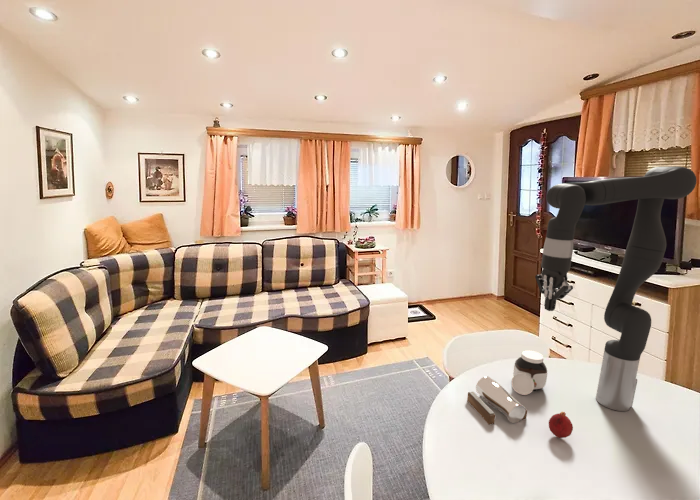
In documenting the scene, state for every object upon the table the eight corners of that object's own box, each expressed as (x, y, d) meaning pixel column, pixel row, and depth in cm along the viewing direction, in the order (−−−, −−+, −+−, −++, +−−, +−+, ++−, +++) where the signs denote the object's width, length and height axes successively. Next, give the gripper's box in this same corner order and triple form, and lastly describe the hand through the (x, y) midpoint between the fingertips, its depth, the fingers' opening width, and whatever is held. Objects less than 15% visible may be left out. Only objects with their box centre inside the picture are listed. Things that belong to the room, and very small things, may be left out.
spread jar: (539, 381, 136) (544, 351, 133) (551, 400, 125) (556, 367, 122) (504, 377, 137) (508, 347, 135) (512, 395, 126) (517, 363, 124)
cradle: (501, 396, 126) (502, 387, 125) (526, 419, 114) (527, 409, 114) (467, 400, 123) (468, 391, 122) (488, 424, 111) (490, 414, 111)
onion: (561, 447, 103) (565, 421, 101) (542, 434, 108) (546, 408, 106) (575, 441, 106) (579, 415, 104) (555, 428, 111) (559, 403, 109)
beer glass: (530, 407, 113) (496, 379, 127) (516, 400, 110) (482, 372, 124) (518, 427, 113) (485, 397, 127) (503, 421, 110) (471, 391, 124)
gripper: (586, 258, 106) (577, 317, 110) (551, 248, 118) (543, 302, 122) (564, 259, 104) (555, 319, 108) (530, 249, 117) (523, 303, 120)
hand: (549, 309), depth 115 cm, fingers closed
